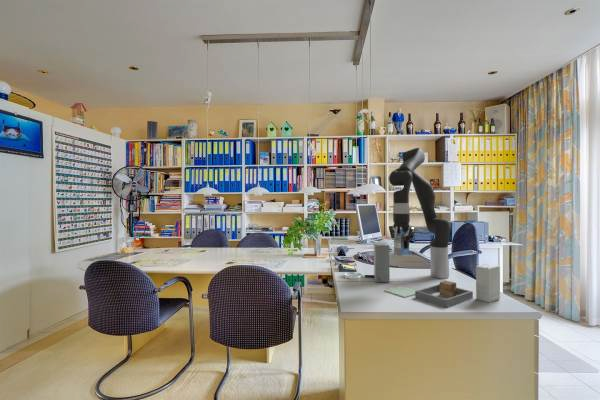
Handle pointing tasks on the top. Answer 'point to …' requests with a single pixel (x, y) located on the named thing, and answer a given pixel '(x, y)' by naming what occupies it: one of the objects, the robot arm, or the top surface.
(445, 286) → the walnut block
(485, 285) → the skincare box
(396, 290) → the mat
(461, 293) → the parts bin
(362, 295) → the top surface
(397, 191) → the robot arm
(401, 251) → the label tape box
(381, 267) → the hard drive box
